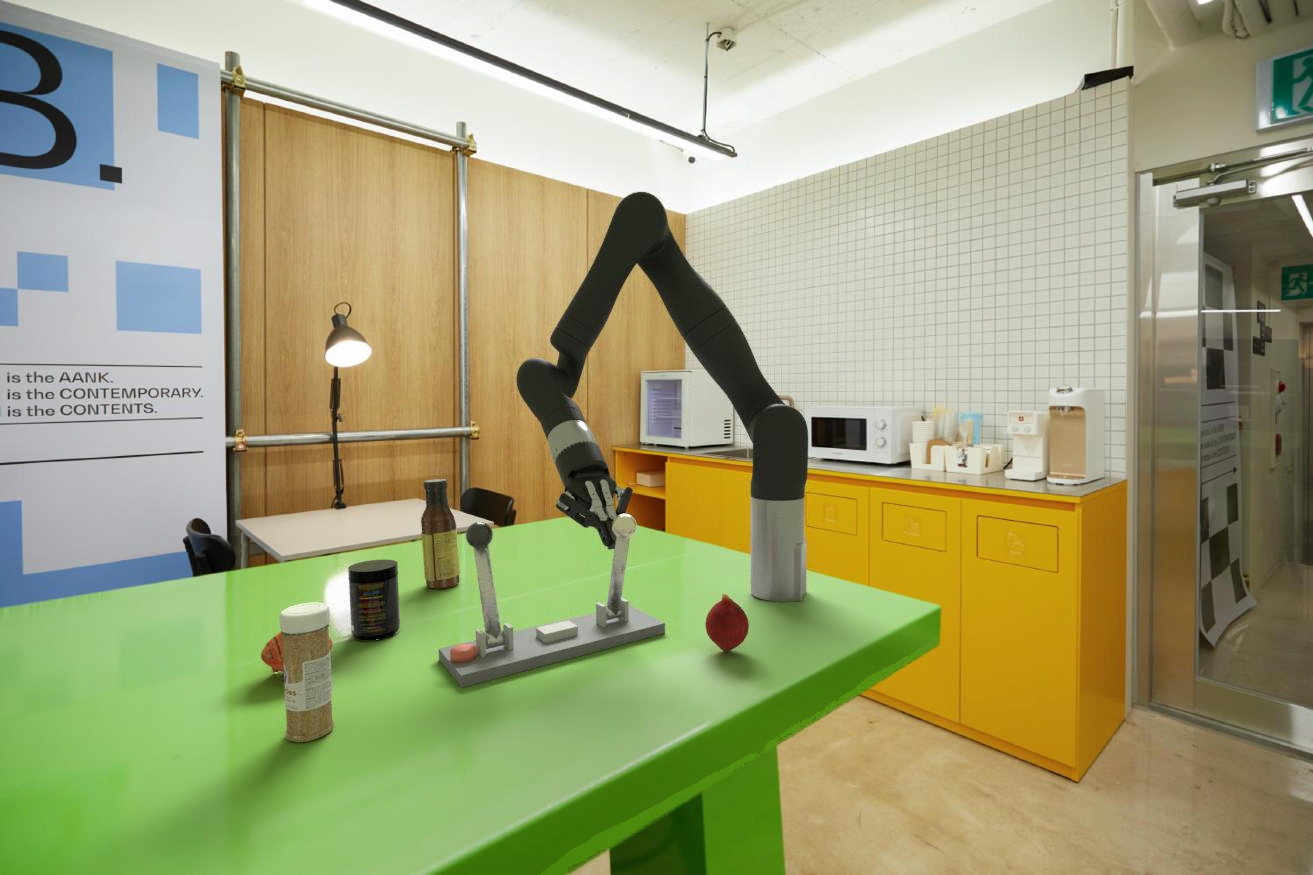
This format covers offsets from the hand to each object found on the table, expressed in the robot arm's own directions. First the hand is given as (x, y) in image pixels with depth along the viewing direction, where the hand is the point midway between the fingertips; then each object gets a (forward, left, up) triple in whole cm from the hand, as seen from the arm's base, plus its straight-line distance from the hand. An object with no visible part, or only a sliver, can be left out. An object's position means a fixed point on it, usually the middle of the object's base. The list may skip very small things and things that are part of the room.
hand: (615, 545), depth 92 cm
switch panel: (+6, +6, -13) cm, 16 cm away
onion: (-17, 0, -13) cm, 21 cm away
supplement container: (+34, +11, -13) cm, 39 cm away
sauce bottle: (+41, -12, -13) cm, 45 cm away
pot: (+33, +25, -14) cm, 44 cm away
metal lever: (+1, -1, -10) cm, 10 cm away
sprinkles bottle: (+19, +35, -13) cm, 43 cm away
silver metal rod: (+12, +14, -10) cm, 21 cm away
